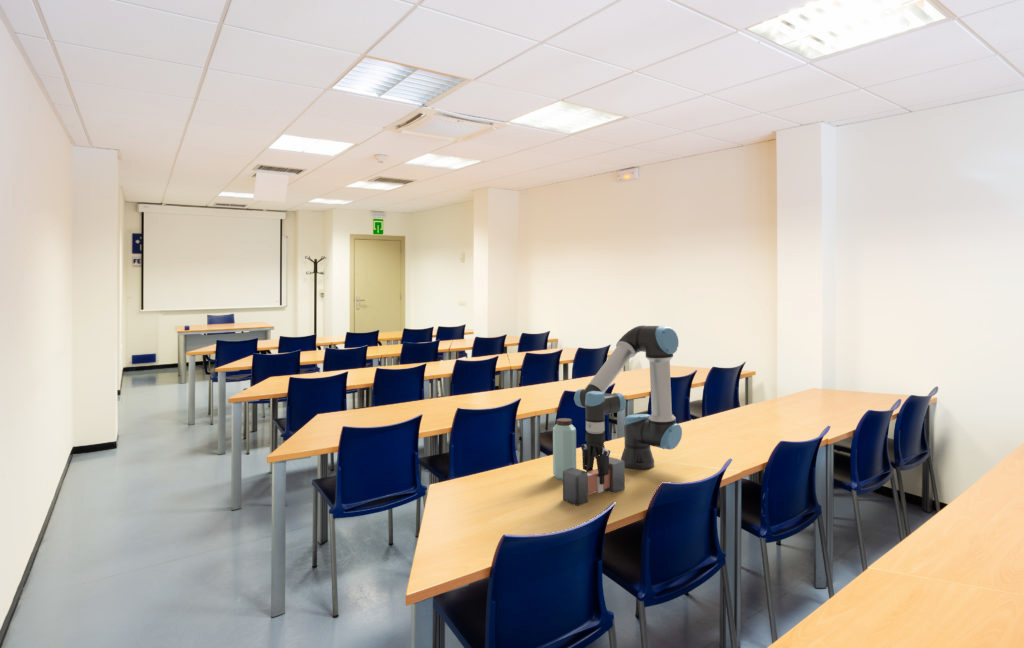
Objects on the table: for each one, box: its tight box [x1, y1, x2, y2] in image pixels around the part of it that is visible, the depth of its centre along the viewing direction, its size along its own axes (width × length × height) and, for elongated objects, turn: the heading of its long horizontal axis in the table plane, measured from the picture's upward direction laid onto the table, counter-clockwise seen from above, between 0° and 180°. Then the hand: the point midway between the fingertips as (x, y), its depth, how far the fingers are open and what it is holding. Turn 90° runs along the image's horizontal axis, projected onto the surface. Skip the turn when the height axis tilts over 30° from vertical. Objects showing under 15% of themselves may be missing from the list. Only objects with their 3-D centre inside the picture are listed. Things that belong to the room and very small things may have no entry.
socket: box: [562, 467, 589, 506], centre depth 207 cm, size 6×7×12 cm
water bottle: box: [552, 417, 577, 481], centre depth 236 cm, size 10×10×25 cm
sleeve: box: [603, 456, 626, 494], centre depth 220 cm, size 7×7×12 cm
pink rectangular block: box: [587, 466, 611, 495], centre depth 216 cm, size 18×4×7 cm, turn 129°
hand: (595, 490), depth 215 cm, fingers closed on pink rectangular block, 4 cm apart
